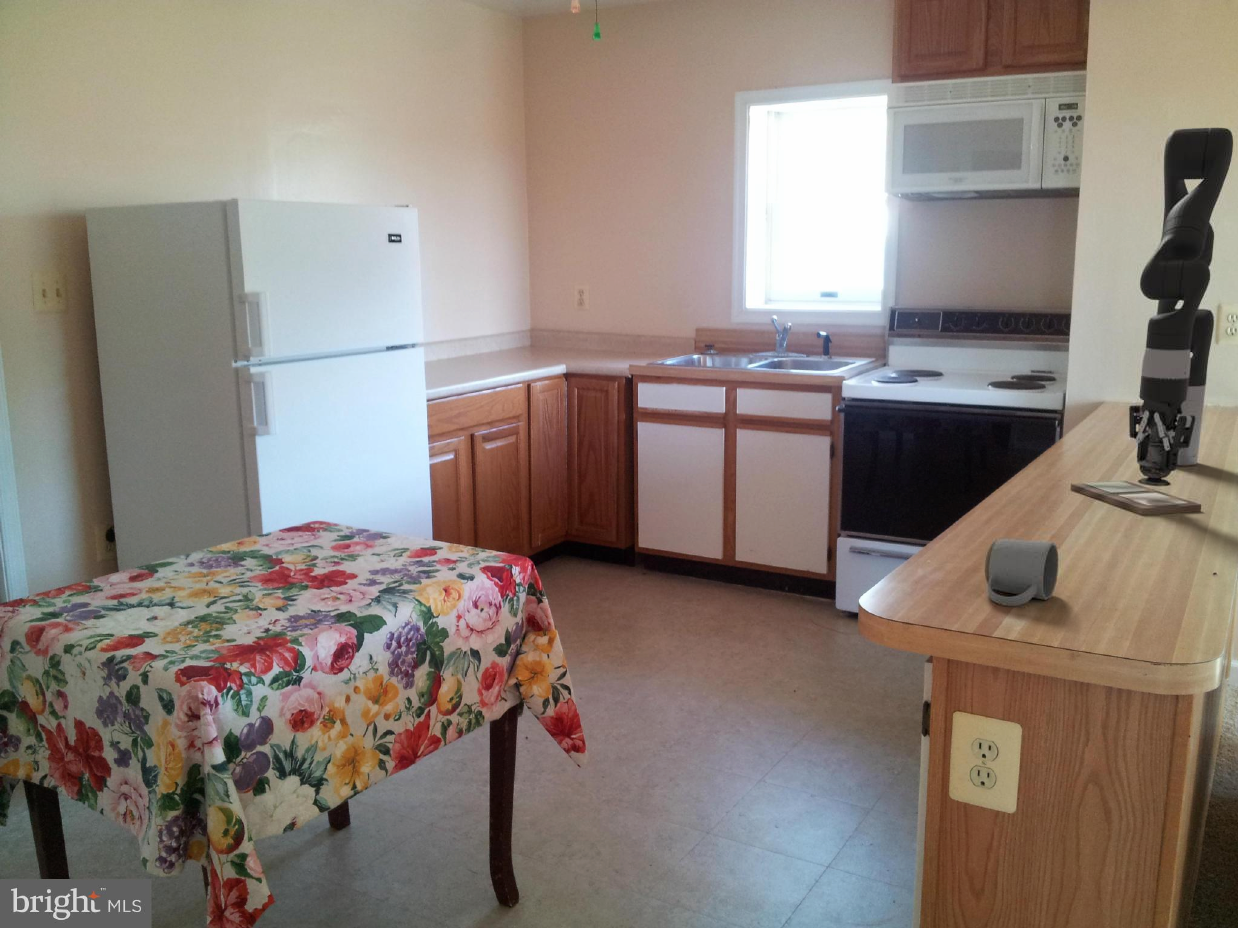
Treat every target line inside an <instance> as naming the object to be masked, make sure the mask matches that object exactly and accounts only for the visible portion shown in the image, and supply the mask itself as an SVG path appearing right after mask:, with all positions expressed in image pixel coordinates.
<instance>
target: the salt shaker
mask: <svg viewBox="0 0 1238 928" xmlns="http://www.w3.org/2000/svg"><path fill="white" fill-rule="evenodd" d="M1147 443H1148V444H1149V446H1148V454H1147V457H1146V459H1144V460H1143V461H1139V462H1138V463H1137V464H1138V465H1139V471H1140V473H1141V474H1142V475H1143V476H1144V477H1143V478H1140V479H1137V482H1138V483H1139V484H1140V485H1144V486H1150V487H1151V486H1152V487H1168V486H1171V485H1172V484H1171V482H1170V481H1168V480H1167V479H1165V478H1167V477H1169V476H1170V475H1171V473H1172V471H1164V470H1163V469H1162V465H1163V455H1164V450H1165V447H1164V442H1163V439H1162V438H1160V435H1159V431H1158V427H1157V426H1156V425H1152V426H1151V431H1150V441H1148V442H1147Z"/></svg>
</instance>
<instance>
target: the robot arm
mask: <svg viewBox="0 0 1238 928" xmlns="http://www.w3.org/2000/svg"><path fill="white" fill-rule="evenodd" d="M1233 149H1234V136H1233V133H1232V131H1231V130H1230V129H1228V128H1226V127H1196V128H1179V129H1175V130H1173V131H1172V132H1170V133H1169V134H1168V137H1167V139H1166V142H1165V145H1164V152H1163V179H1164V180H1163V186H1164V188H1163V189H1164V190H1163V192H1164V194H1163V195H1164V198H1163V199H1164V206H1163V207H1164V210H1163V221H1162V232H1161V239H1160V242H1159V244H1158V246H1157V248H1156V249H1155V251H1154V253H1153V254H1152V255H1151V257H1150V258H1149V260H1148V261H1147V263H1146V265H1145V266H1144V268H1143V270H1142V273H1141V274H1140V275H1141V276H1140V280H1139V286H1140V292H1141V293H1142V294H1143V296H1144V297H1145V298H1147V299H1149V300H1151V301H1152V300H1153V301H1158V302H1157V312H1156V314H1155V315H1152V316H1151V317H1150V318H1149V320H1148V323H1147V331H1146V342H1145V350H1144V355H1143V359H1142V365H1141V366H1142V367H1141V373H1140V374H1141V376H1140V385H1139V386H1140V387H1139V395H1138V396H1139V399H1140V400H1141V401H1143V402H1142V404H1141V405H1139V404H1138V405H1136V404H1135V405H1130V406H1129V409H1128V410H1129V413H1128V417H1129V421H1128V422H1129V424H1128V425H1129V437H1130V439H1134V440H1135V442H1136V443H1137V451H1136V463H1137V464H1138V462H1139V461H1143V460H1144V459H1146V457H1147V454H1148V446H1149V444H1148V443H1147V442H1148V441H1150V431H1151V426H1152V425H1156V426H1157V427H1158V431H1159V435H1160V438H1162V439H1163V442H1164V447H1165V450H1164V455H1163V465H1162V469H1163V470H1164V471H1171V472H1174V471H1175V470H1176V469H1177V467H1178V466H1195V465H1197V464H1198V459H1199V451H1200V442H1201V434H1202V433H1201V431H1202V424H1203V423H1202V422H1203V413H1204V405H1205V396H1206V395H1205V394H1206V387H1207V386H1206V385H1207V376H1208V375H1207V374H1208V366H1209V356H1210V351H1211V346H1212V340H1213V333H1214V329H1215V328H1214V327H1215V317H1214V313H1213V312H1212V310H1210V309H1205V308H1200V305H1201V302H1202V300H1203V298H1204V296H1205V294H1206V292H1207V289H1208V287H1209V284H1210V280H1211V270H1210V265H1211V263H1212V261H1213V255H1214V253H1213V252H1214V243H1215V231H1214V228H1213V225H1212V223H1211V222H1210V221H1211V217H1212V216H1213V215H1212V214H1213V211H1214V209H1215V206H1216V204H1217V202H1218V199H1219V197H1220V194H1221V193H1222V189H1223V186H1224V183H1225V180H1226V179H1227V176H1228V173H1229V170H1230V167H1231V163H1232V159H1233V158H1232V156H1233V152H1234V150H1233ZM1185 180H1187V181H1188V180H1201V181H1200V183H1199V184H1198V185H1197V186H1196V187H1195V188H1194V189H1192V190H1191V191H1190V192H1189V191H1188V188H1187V185H1186V181H1185ZM1179 301H1182V302H1183V303H1182V306H1181V307H1180V308H1176V307H1177V306H1178V303H1179ZM1191 354H1192V355H1191ZM1137 425H1138V429H1137Z"/></svg>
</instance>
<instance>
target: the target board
mask: <svg viewBox="0 0 1238 928" xmlns="http://www.w3.org/2000/svg"><path fill="white" fill-rule="evenodd" d="M1070 491H1073V492H1075V493H1078V494H1081V495H1084V496H1087V497H1089V498H1093V499H1095V500H1097V501H1098V500H1099V501H1101V502H1103V503H1108V504H1109V505H1112V506H1115V507H1119V508H1120V509H1124V510H1126V511H1128V512H1132V513H1134V514H1138V515H1140V516H1148V515H1163V514H1176V513H1177V514H1178V513H1193V512H1201V510H1202V503H1199V502H1198V503H1197V502H1194V501H1191V500H1189V499H1185V498H1181V497H1179V496H1176V495H1172V494H1169V493H1165V492H1163V491H1159V490H1157V489H1155V488H1154V489H1153V488H1150V487H1147V486H1145V485H1144V486H1143V485H1142V484H1137V483H1135V482H1130V481H1128V480H1112V481H1097V482H1095V481H1094V482H1078V483H1070Z"/></svg>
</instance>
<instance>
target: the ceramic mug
mask: <svg viewBox="0 0 1238 928" xmlns="http://www.w3.org/2000/svg"><path fill="white" fill-rule="evenodd" d="M987 549H988V550H987V552H986V555H985V556H986V557H985V560H984V575H985V581H986V583H987V593H988V597H989V599H990V600H991V601H993V603H995V602H996V603H995V604H997V603H1000V604H1005V605H1009V606H1008V607H1018V606H1021V605H1024V604H1026V603H1028V602H1030V600H1031V599H1032V598H1033V599H1039V600H1042V601H1044V600H1045V601H1046V600H1047V599H1048V598H1049V599H1050V598H1051V597H1052V596H1053V593H1054V591H1055V588H1056V585H1057V580H1058V574H1059V573H1058V572H1059V551H1058V548H1057V545H1056V544H1055V543H1054V542H1051V541H1039V540H1038V541H1036V540H1025V539H1024V540H1022V539H1012V538H1002V539H996V540H994V541H993V542H992V543H991V544H990V545H989V547H988V548H987ZM993 589H994V590H996V591H998V592H1002V593H1007V594H1008V593H1009V594H1014V596H1003V595H999V594H997V593H996V592H994V591H993ZM1049 599H1048V600H1049ZM1048 600H1047V601H1048ZM1000 604H999V605H1000Z"/></svg>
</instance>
